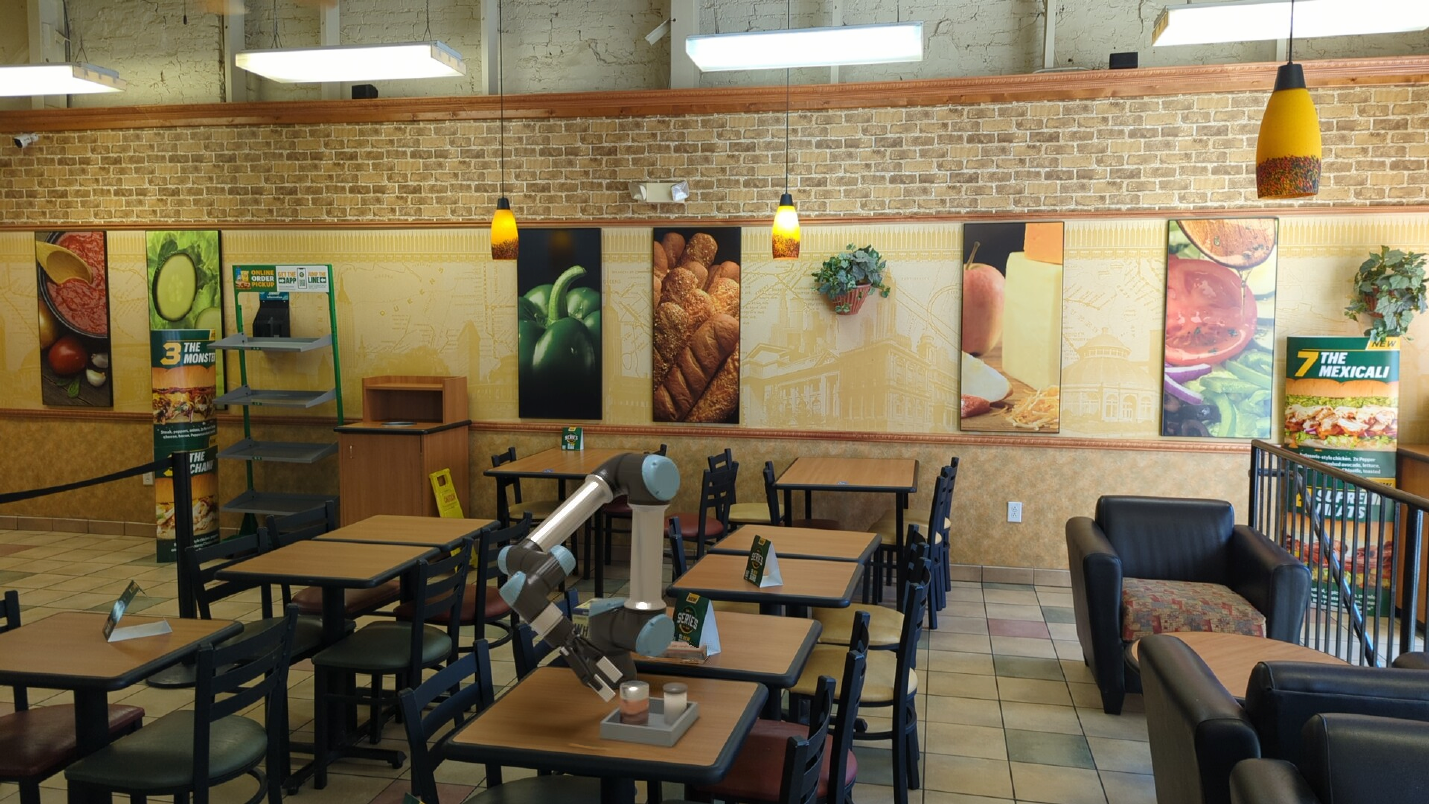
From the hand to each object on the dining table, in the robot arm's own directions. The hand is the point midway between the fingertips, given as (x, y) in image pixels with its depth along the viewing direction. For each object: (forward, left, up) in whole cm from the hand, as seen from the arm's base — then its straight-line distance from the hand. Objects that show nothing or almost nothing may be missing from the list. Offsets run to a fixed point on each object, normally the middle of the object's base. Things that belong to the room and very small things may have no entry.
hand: (615, 688), depth 238 cm
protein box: (-30, +58, -12) cm, 66 cm away
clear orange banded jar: (+4, +2, -10) cm, 11 cm away
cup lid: (+12, +10, -3) cm, 16 cm away
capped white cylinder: (+12, +10, -11) cm, 19 cm away
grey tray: (+7, +5, -11) cm, 14 cm away
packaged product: (-5, +61, -12) cm, 63 cm away
